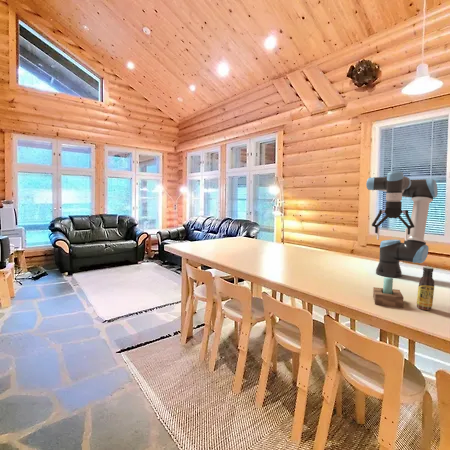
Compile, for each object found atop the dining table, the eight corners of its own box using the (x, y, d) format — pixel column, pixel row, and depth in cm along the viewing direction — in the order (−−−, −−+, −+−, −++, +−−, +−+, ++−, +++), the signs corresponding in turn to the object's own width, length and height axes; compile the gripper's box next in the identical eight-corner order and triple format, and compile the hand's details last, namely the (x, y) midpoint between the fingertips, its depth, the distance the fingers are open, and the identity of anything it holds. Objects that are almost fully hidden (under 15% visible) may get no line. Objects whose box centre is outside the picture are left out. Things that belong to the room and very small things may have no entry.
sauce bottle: (418, 309, 142) (420, 268, 140) (415, 305, 148) (417, 265, 146) (434, 311, 140) (437, 269, 138) (430, 307, 146) (433, 266, 144)
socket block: (373, 296, 161) (373, 287, 160) (398, 299, 157) (399, 289, 156) (375, 304, 150) (375, 294, 149) (402, 307, 145) (403, 297, 145)
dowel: (382, 299, 156) (383, 277, 154) (391, 300, 154) (392, 277, 153) (383, 302, 152) (384, 279, 151) (392, 303, 151) (393, 280, 149)
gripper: (368, 201, 165) (367, 239, 168) (422, 201, 156) (419, 242, 159) (367, 200, 172) (366, 237, 175) (419, 200, 163) (416, 240, 165)
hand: (391, 240), depth 167 cm, fingers open, 13 cm apart
